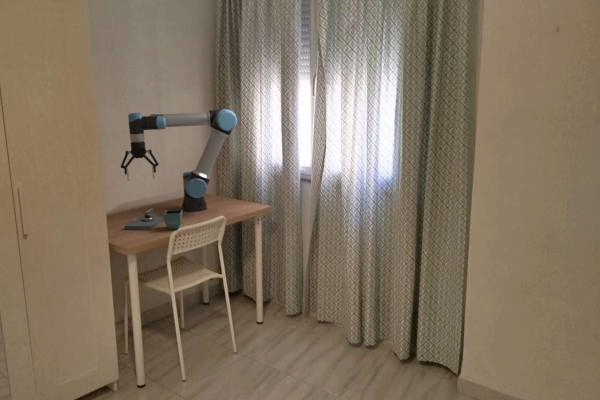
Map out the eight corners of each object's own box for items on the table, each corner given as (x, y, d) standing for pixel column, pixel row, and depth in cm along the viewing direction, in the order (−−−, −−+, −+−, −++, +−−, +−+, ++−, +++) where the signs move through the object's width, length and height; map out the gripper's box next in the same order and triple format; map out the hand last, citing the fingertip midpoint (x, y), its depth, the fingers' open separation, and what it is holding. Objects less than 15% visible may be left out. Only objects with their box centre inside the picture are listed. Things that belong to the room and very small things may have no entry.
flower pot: (167, 226, 271) (166, 209, 269) (183, 225, 272) (182, 209, 270) (164, 230, 263) (163, 214, 261) (181, 230, 264) (180, 213, 262)
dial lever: (151, 221, 273) (150, 213, 272) (140, 221, 273) (139, 213, 272) (158, 215, 284) (157, 208, 283) (147, 215, 284) (147, 208, 283)
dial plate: (163, 219, 284) (163, 216, 283) (151, 229, 264) (150, 225, 264) (138, 219, 284) (138, 215, 284) (125, 229, 265) (124, 225, 264)
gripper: (160, 139, 284) (163, 176, 289) (113, 141, 277) (117, 179, 282) (161, 140, 277) (164, 178, 282) (113, 143, 270) (117, 182, 275)
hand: (141, 179), depth 282 cm, fingers open, 13 cm apart
